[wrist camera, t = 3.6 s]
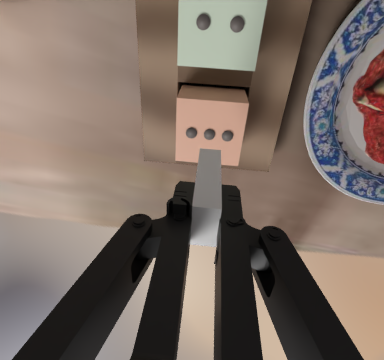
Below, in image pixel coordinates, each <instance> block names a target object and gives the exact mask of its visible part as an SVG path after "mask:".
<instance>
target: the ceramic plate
mask: <svg viewBox="0 0 384 360" xmlns="http://www.w3.org/2000/svg"><path fill="white" fill-rule="evenodd" d="M303 124H304V136H305V142H306V146H307V150H308V153H309V156H310V158H311V160H312V162H313V164H314V166H315V167H316V169H317V170H318V172H319V173H320V174H321V175H322V177H323V178H324V179H325V180H326V181H327V182H328V183H329V184H331V185H332V186H333V187H335V188H336V189H337V190H339V191H341V192H343V193H344V194H346V195H349V196H351V197H353V198H355V199H359V200H362V201H366V202H370V203H375V204H382V205H384V0H361V1H360V2H359V3H358V5H357V6H356V7H355V8H354V9H353V10H352V12H351V13H350V14H349V15H348V16H347V17H346V18H345V20H344V21H343V23H342V24H341V26H340V27H339V29H338V30H337V32H336V33H335V34H334V36H333V37H332V39H331V40H330V42H329V44H328V45H327V47H326V49H325V51H324V52H323V54H322V56H321V58H320V60H319V62H318V65H317V67H316V69H315V71H314V74H313V77H312V80H311V82H310V85H309V89H308V93H307V97H306V102H305V108H304V121H303Z"/></svg>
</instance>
